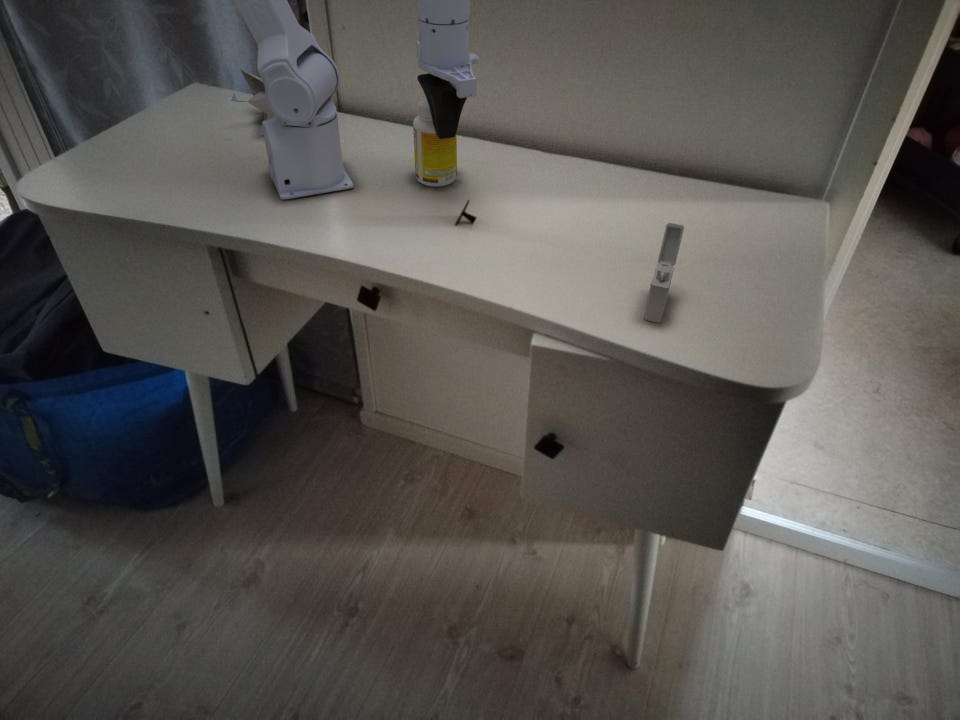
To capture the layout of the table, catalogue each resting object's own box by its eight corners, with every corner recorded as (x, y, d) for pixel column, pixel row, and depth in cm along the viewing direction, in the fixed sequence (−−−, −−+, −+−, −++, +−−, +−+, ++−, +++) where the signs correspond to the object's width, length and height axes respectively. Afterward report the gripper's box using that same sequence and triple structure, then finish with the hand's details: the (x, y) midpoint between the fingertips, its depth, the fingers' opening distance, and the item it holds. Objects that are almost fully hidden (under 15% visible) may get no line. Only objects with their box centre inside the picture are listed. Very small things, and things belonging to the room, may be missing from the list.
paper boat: (308, 123, 105) (247, 119, 100) (295, 150, 110) (236, 148, 105) (285, 58, 108) (225, 51, 103) (273, 87, 113) (215, 82, 108)
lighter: (660, 323, 71) (675, 255, 66) (643, 319, 72) (657, 251, 67) (670, 286, 76) (685, 220, 71) (654, 282, 77) (668, 217, 72)
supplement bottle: (465, 180, 95) (465, 104, 88) (432, 192, 92) (429, 115, 85) (440, 166, 98) (438, 91, 91) (407, 177, 95) (403, 101, 88)
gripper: (503, 32, 74) (499, 154, 83) (454, -2, 84) (455, 110, 93) (440, 39, 72) (442, 163, 81) (398, 3, 82) (404, 117, 91)
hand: (445, 136), depth 87 cm, fingers closed
